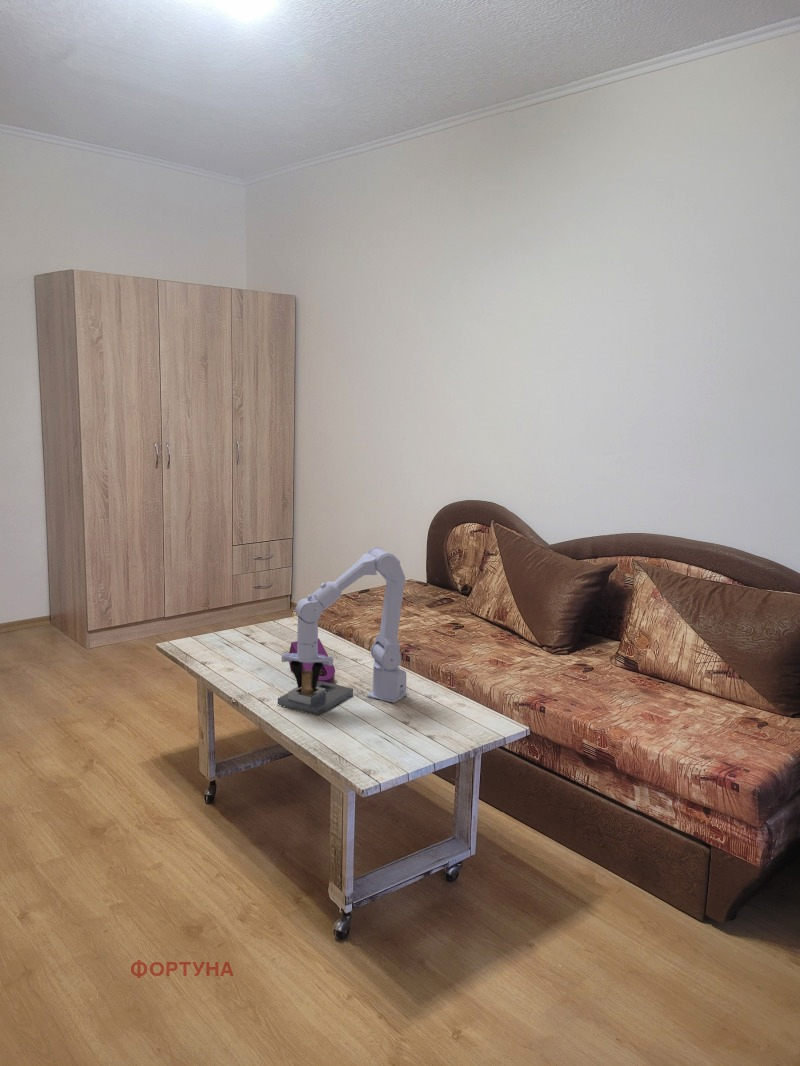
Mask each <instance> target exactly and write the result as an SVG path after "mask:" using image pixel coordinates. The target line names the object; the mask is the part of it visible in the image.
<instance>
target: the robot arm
mask: <svg viewBox="0 0 800 1066" xmlns="http://www.w3.org/2000/svg"><path fill="white" fill-rule="evenodd" d="M377 572H378V573H379V574H380V575H381V577H382V578H384V580H385V591H384V598H383V604H382V613H381V618H380V619H381V620H380V628H379V633H378V634H377V635H375V640H374V643H373V644H372V646H371V649H370V655H371V657H372V658H373V661H374V662H373V671H372V673H373V675H372V691H371V692H369V693H367V694H366V696H367V697H369V698H373V699H377V700H380V701H381V700H382V701H386V702H389V703H397V702H398V701H400V700H402V699H403V698H404V697H405V696H407V695H408V692H407V672H406V671H405V670H404V669H401V668H400V665H401V663H402V653H401V644H400V640H399V637H398V635H399V634H398V633H399V628H400V627H399V626H400V619H401V613H402V604H403V597H404V592H405V591H404V590H405V584H406V583H405V582H406V576H405V573H404V571H403V568H402V566H401V561H400V560H399V559H398V558H397V557H396V556H395V555H394V554H392V553H391V552H388V551H386V550H385V549H383V548H382V547H379V546H375V547H373V548H372V547H371V549H369V551H368V552H366V553H364V554H362V555H361V557H360V558H359V559H358V560H357V561H356V562H355V563H353V565H351V566H350V567H349V568H347V570H346V571H345V572H343V574H341V575H340V576H339V577H338V578H337V579H335V580H334V581H329V580H328V581H326V582H322V583H320V584H319V585H320V587H319V588H317V589H316V590H315V591H313V593H311V594H310V593H309V594H307V597H305V598H301V599H299V601H297V603H296V606H295V607H294V612H295V614H296V615H297V635H296V636H297V637H296V639H297V653H289V652H286V653H282V654H281V662H282V663H286V662H291V665H290V664H289V668H290V667H291V668H290V670H291V669H292V670H291V672H292V671H293V672H292V673H293V675H294V677H295V680H296V685H297V687H298V688H300V687H301V672H302V666H303V663H314V665H313V666H312V673H313V684H312V688H313V689H315V688H316V687H317V681H318V677H319V676H321V675H320V673H321V672H322V667H323V665H324V664H327V665H329V666H332V665H333V666H334V656H329V655H328V656H324V655H319V654H318V638H319V624H318V623H319V621H318V620H320V618H321V616H322V613H323V612H324V611H325V610H326V609H328V608H329V607H330V606H331V605H332V604H334V603H336V601H338V600H339V599H340V598H341V597H342V596H341V595H342V592H343V591H344V590H345V589H347V588H348V587H349V586H350V585H352V584H354V583H355V582H356V581H358V580H359V579H361V578H362V577H363V576H376V575H378V573H377Z"/></svg>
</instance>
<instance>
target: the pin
mask: <svg viewBox="0 0 800 1066" xmlns="http://www.w3.org/2000/svg"><path fill="white" fill-rule="evenodd" d="M312 684H313V673H312V671H310V670H306V671H302V672H301V693H305V694H309V695H310V694H311V693H313V688H312Z"/></svg>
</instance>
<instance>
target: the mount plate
mask: <svg viewBox="0 0 800 1066" xmlns="http://www.w3.org/2000/svg"><path fill="white" fill-rule="evenodd" d="M352 696H354V688H352V687H348V686H343V685H339V684H335V683H332V682H330V683H327V682H323V681H319V680H318V681H317V687H316V688H315V689H313V693H311V694H310V695H309V694H305V693H301V687H300V688H298V686H296V687H295V688H293V689H290V690H289V691H288V692H287V693H285V694H284V695H281V696H279V697H278V698H277V705H278V704H279V705H281V706H280V707H283V706H285V707H284V708H287V707H288V708H287V709H290V708H292V709H291V710H294V709H296V710H295V711H298V710H299V711H298V712H302V711H303V712H302V713H305V712H307V713H306V714H309V713H310V714H311V715H313V714H314V715H313V716H321V715H323V714H325V713H326V712H327V711H330V710H331V709H332V708H334V707H336V706H337V705H339V704H340V703H342V702H344V701H346V700H347V699H349V698H351V697H352ZM279 705H278V706H279ZM322 713H323V714H322Z"/></svg>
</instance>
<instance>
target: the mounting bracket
mask: <svg viewBox="0 0 800 1066" xmlns="http://www.w3.org/2000/svg"><path fill="white" fill-rule="evenodd" d="M288 653H297V641H291V643H290V648H289V652H288ZM318 654H319V655H324V656H329V654H328V653H327V651H326V649H325V647H324V645H323V643H322V641H321V640H320V638H319V637H318ZM290 665H291V662H289V668H290V670H291V672H292V673H293V671H292V669H291V667H290ZM313 665H314V663H303V666H302V671H306V670H310V671H312V666H313ZM321 672H322V673H323V676H322V675H319V677H318V680H319V681H323V682H327V683H332V682H333V680H334V679H335V678H334V677H335V674H336V668H335V666H334V664H333V665H332V666H329V665H327V664H324V665H323V667H322V670H321Z"/></svg>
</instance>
